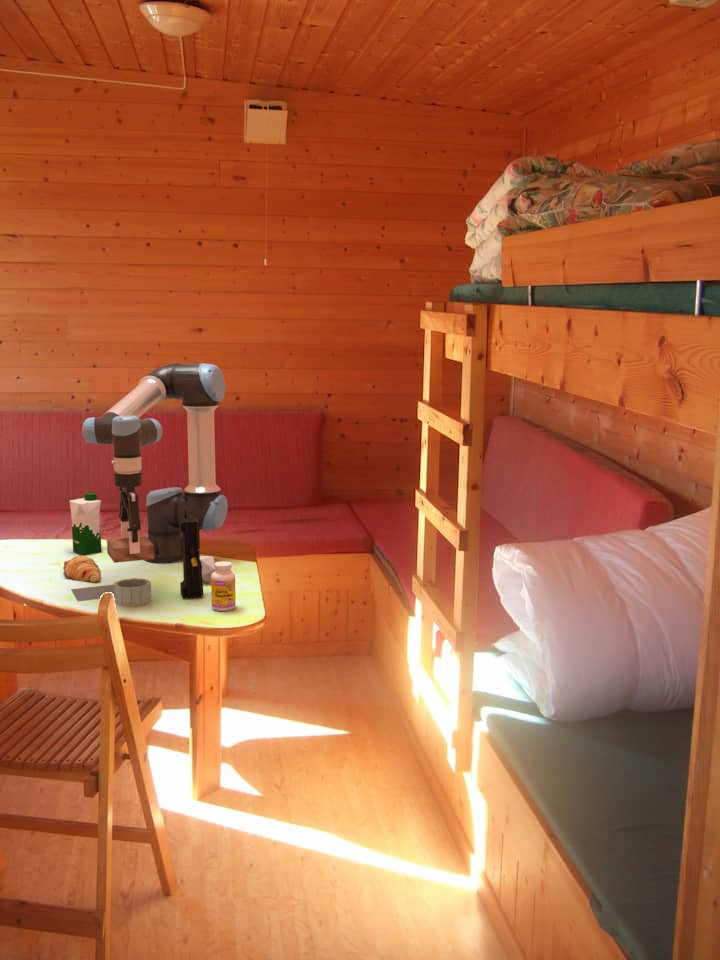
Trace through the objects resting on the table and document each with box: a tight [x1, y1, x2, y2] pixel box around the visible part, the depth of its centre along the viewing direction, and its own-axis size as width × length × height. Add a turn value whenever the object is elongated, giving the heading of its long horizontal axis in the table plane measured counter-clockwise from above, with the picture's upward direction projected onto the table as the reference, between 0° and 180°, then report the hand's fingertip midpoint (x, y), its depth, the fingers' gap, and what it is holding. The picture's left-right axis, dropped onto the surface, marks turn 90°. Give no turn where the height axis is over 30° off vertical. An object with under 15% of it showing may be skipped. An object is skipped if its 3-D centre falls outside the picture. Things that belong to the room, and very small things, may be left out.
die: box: [200, 555, 217, 584], centre depth 298 cm, size 8×9×10 cm
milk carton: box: [69, 492, 103, 556], centre depth 332 cm, size 9×9×20 cm
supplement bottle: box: [210, 561, 236, 612], centre depth 272 cm, size 7×7×13 cm
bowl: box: [113, 577, 152, 607], centre depth 278 cm, size 10×10×5 cm
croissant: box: [63, 554, 102, 583], centre depth 303 cm, size 21×10×8 cm, turn 43°
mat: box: [71, 584, 114, 602], centre depth 286 cm, size 13×13×1 cm
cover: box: [106, 536, 154, 564], centre depth 276 cm, size 11×11×4 cm
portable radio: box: [179, 509, 205, 599], centre depth 282 cm, size 8×6×25 cm
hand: (130, 548), depth 276 cm, fingers closed on cover, 11 cm apart
